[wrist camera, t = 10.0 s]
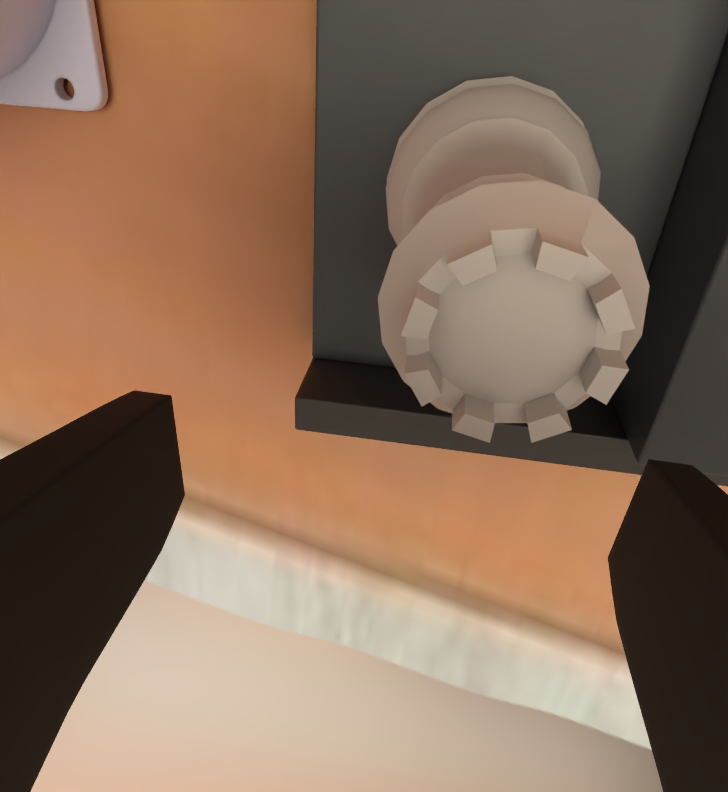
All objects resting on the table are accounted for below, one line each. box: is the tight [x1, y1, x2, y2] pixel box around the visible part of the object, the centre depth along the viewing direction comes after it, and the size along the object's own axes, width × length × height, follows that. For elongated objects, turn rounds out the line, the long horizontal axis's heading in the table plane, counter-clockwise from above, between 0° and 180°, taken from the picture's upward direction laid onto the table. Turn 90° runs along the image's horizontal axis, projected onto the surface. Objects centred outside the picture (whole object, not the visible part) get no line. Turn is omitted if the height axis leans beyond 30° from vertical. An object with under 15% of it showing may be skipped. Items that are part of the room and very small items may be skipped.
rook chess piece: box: [378, 76, 650, 443], centre depth 10 cm, size 4×4×8 cm
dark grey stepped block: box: [295, 0, 728, 486], centre depth 13 cm, size 14×12×6 cm
